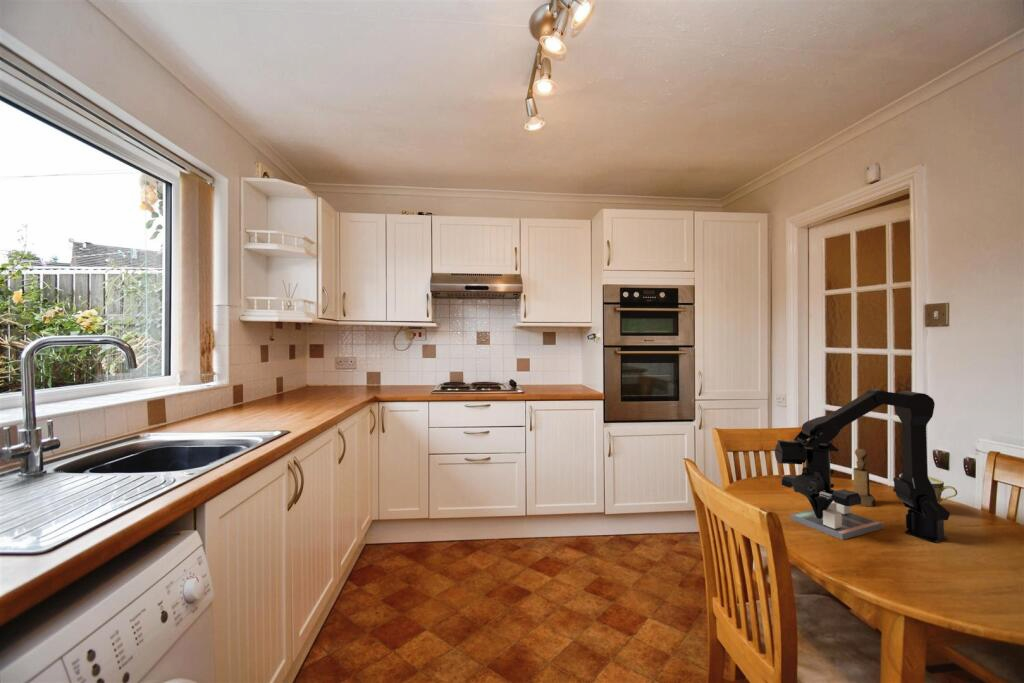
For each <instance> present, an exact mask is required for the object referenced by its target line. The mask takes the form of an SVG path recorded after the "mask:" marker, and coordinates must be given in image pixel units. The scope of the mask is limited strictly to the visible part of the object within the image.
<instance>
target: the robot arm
mask: <svg viewBox="0 0 1024 683" xmlns="http://www.w3.org/2000/svg"><path fill="white" fill-rule="evenodd" d="M882 405H887V406H893V407H894V411H895V414H896V415H897V417H898V418H899V421H900V422H901V436H902V437H901V440H902V469H903V470H902V473H901V474H902V476H901V477H893V480H892V481H893V484H894V485H893V486H894V487H893V489H892V491H893V492H894V493H895V495H896V497H897V499H899V500H900V501H901V502H902V504H903V506H904V507H905V508H908V509H907V513H906V514H905V528H906V529H905V530H904V533H905V534H908V535H912V536H915V537H918V538H919V539H920V538H921V539H923V540H926V541H929V542H932V543H939V542H941V541H944V540H948V538H949V537H948V536H947V535H945V524H944V522H945V521H949V518H950V516H951V513H950V512H949V510H947V509H946V508H945V507H944V506H943V505H941V503H938V500H937V496H936V492H935V489H934V487H933V486H932V484H931V482H930V480H929V479H928V476H929V473H928V472H929V470H928V442H927V439H928V438H927V425H928V424H929V422H930V421H931V419H932V418H933V416H934V411H935V405H936V404H935V400H934V398H933V397H931V396H930V395H929V394H927V393H922V392H916V391H909V390H901V391H900V392H893V391H892V392H891V391H887V390H882V389H877V388H870V389H868V390H866V391H865V392H864V393H863V394H861V395H860V396H858V397H856V398H855V399H853V400H851V401H850V402H848V403H846V404H844V405H843V406H840V407H839V408H838V409H836V410H834V411H833V412H831V413H829V414H826V415H822V416H818V417H815V418H812V419H810V420H806V421H805V422H803V424H802V425H801V430H800V431H799V432H798V434H796V436H795V438H793V440H783V439H777V444H776V445H775V448H774V457H775V460H776V462H777V463H778V464H784V465H785V464H786V465H803V464H805V466H803V467H802V469H801V470H802V472H801V474H799V475H797V474H794V473H793V474H787V475H784V476H782V477H781V479H780V481H781V486H784V487H787V488H790V489H792V488H793V492H795V493H797V494H798V493H800V494H801V495H803V496H804V497H806V498H807V499H808V502H809V503H810V506H811V508H812V509H813V510H814V513H815V515H816V517H817V518H818V519H822V517H823V510H827V509H828V507H829V505H830V504H831V503H832V502H833V501H834V502H835V503H838V504H841V505H844V506H851V507H852V506H857V505H858V504H861V497H860V495H859V494H858V493H856V492H853V491H852V490H849V489H846V488H842V489H837V490H834V489H832V488H835V485H834V483H833V482H832V480H831V476H832V475H831V474H834V469H832V468H831V452H839V451H840V450H839V448H837V447H836V446H835V445H834V444H833V443H832V440H834V439H835V438H837V436H838V435H839V434H840V433H841V431H842V430H843V429H844V428H845V427H846V426H848V425H849V424H851V423H854V422H855V421H856V420H858V419H860V418H861V417H863V416H866V415H867V414H869V413H871V411H874V410H876V409H877V408H879V407H881V406H882Z"/></svg>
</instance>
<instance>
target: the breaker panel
mask: <svg viewBox="0 0 1024 683" xmlns="http://www.w3.org/2000/svg"><path fill="white" fill-rule="evenodd" d="M841 518H842V527H840V528H836V529H834V528H831V527H829V526H826V525H823V517H822V519H818V518H817V517H816V515H815V513H814V510H813V508H812V509H809V510H805V511H800V512H796V513H792V514H790V519H791V520H792V521H794V522H796V523H799V524H802V525H804V526H806V527H809V528H812V529H814V530H817V531H819V532H821V533H824V534H827V535H829V536H831V537H835V538H836V539H839V540H842V541H843V540H847V539H850V538H855V537H858V536H861V535H865V534H868V533H873V532H876V531H879V530H883V529H884V523H883V522H879V521H877V520H873V519H871V518H869V517H865V516H862V515H858V514H855V513H853V512H851V513H848V514H842V513H841Z"/></svg>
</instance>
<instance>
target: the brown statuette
mask: <svg viewBox="0 0 1024 683" xmlns="http://www.w3.org/2000/svg"><path fill="white" fill-rule="evenodd" d="M854 454H855V456H856V458H857V461H856V465H857V467H854V468H853V491H852V492H856V493H858V494H859V495H860V497H861V504H857V505H859V506H862V507H875V506H876V498H875V496H874V495H872V494H871V493H870V491H871V490H870V471H869V469H867V468H865V467H866V462H865V461H864V460H865V458H867V456H868V453H867V451H866V449H864V448H856V449H855V451H854Z"/></svg>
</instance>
